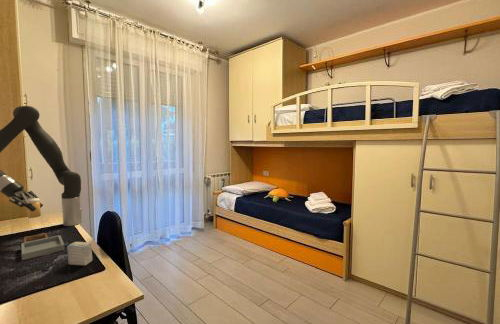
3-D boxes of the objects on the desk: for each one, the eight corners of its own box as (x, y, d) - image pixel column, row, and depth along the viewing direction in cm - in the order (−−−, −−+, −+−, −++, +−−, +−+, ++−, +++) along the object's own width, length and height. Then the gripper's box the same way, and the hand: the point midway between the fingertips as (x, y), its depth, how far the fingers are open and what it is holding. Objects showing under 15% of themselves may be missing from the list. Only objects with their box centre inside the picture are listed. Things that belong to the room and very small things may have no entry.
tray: (60, 240, 128) (60, 235, 128) (64, 249, 117) (64, 244, 117) (21, 248, 117) (21, 243, 117) (22, 260, 107) (21, 254, 106)
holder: (46, 236, 132) (46, 232, 132) (48, 241, 126) (47, 237, 126) (24, 241, 126) (23, 237, 126) (24, 246, 119) (24, 243, 119)
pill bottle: (40, 214, 127) (39, 197, 126) (41, 216, 123) (39, 199, 122) (27, 216, 124) (26, 199, 123) (27, 218, 120) (26, 201, 119)
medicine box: (92, 260, 107) (91, 242, 106) (84, 266, 103) (83, 246, 102) (76, 259, 108) (75, 241, 107) (68, 264, 104) (66, 245, 103)
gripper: (3, 183, 113) (35, 207, 117) (23, 178, 127) (51, 199, 131) (-10, 194, 112) (22, 218, 116) (12, 188, 126) (41, 209, 130)
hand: (38, 208), depth 123 cm, fingers closed on pill bottle, 5 cm apart
